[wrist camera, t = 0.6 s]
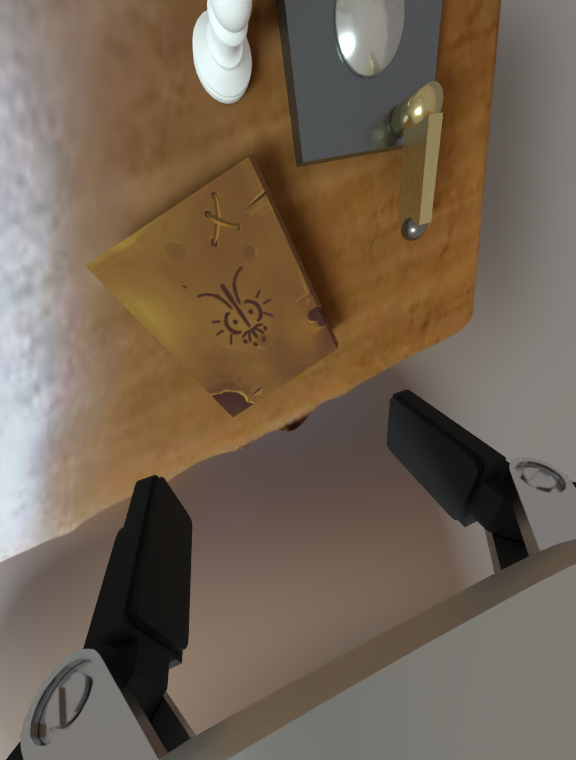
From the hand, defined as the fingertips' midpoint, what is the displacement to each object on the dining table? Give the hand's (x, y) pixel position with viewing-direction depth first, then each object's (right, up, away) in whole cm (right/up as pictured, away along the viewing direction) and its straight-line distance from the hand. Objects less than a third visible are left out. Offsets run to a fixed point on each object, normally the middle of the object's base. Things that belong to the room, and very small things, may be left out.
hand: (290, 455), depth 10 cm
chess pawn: (-6, +32, +13) cm, 35 cm away
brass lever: (+13, +27, +20) cm, 36 cm away
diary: (-7, +13, +23) cm, 28 cm away
